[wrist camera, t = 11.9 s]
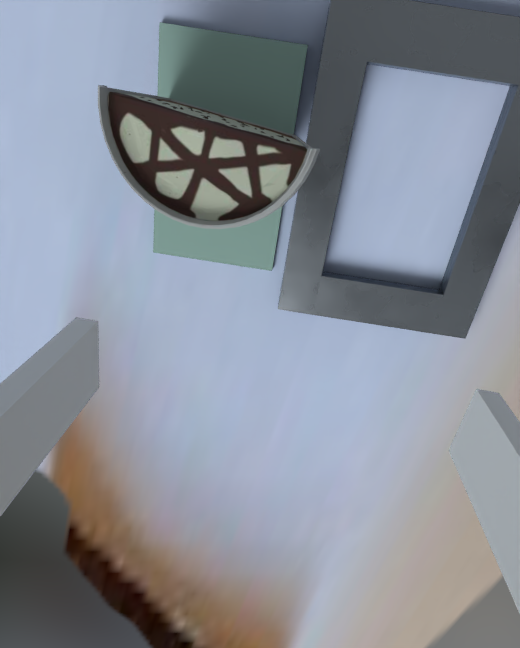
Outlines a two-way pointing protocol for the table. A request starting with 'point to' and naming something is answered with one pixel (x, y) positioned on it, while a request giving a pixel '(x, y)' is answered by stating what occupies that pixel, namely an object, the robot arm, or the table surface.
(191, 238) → the pad
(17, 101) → the table surface
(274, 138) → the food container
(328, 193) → the grey rectangular frame
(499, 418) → the robot arm
